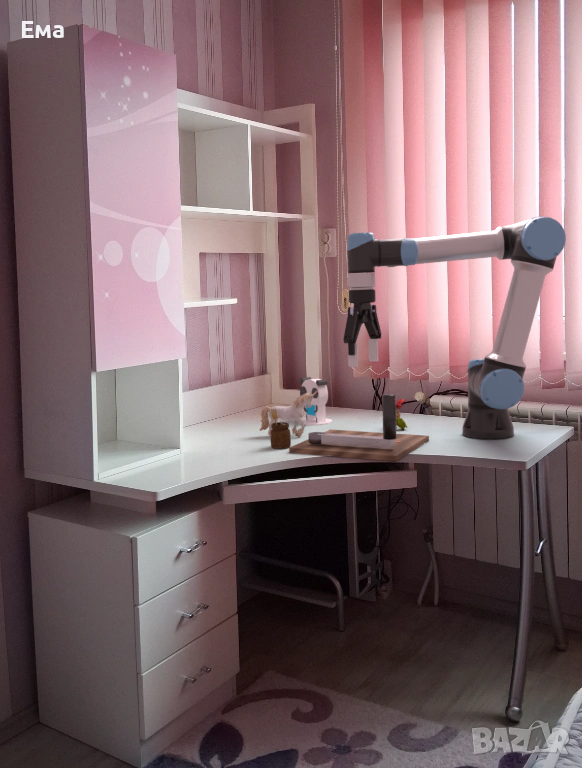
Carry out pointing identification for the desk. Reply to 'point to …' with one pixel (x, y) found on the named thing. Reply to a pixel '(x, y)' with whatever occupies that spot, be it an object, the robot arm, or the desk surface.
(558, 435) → the desk surface
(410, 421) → the desk surface
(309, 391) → the panda figurine
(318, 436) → the lever
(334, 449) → the walnut board
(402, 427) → the bird rattle
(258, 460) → the desk surface
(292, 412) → the unicorn figurine
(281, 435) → the utensil holder
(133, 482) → the desk surface
